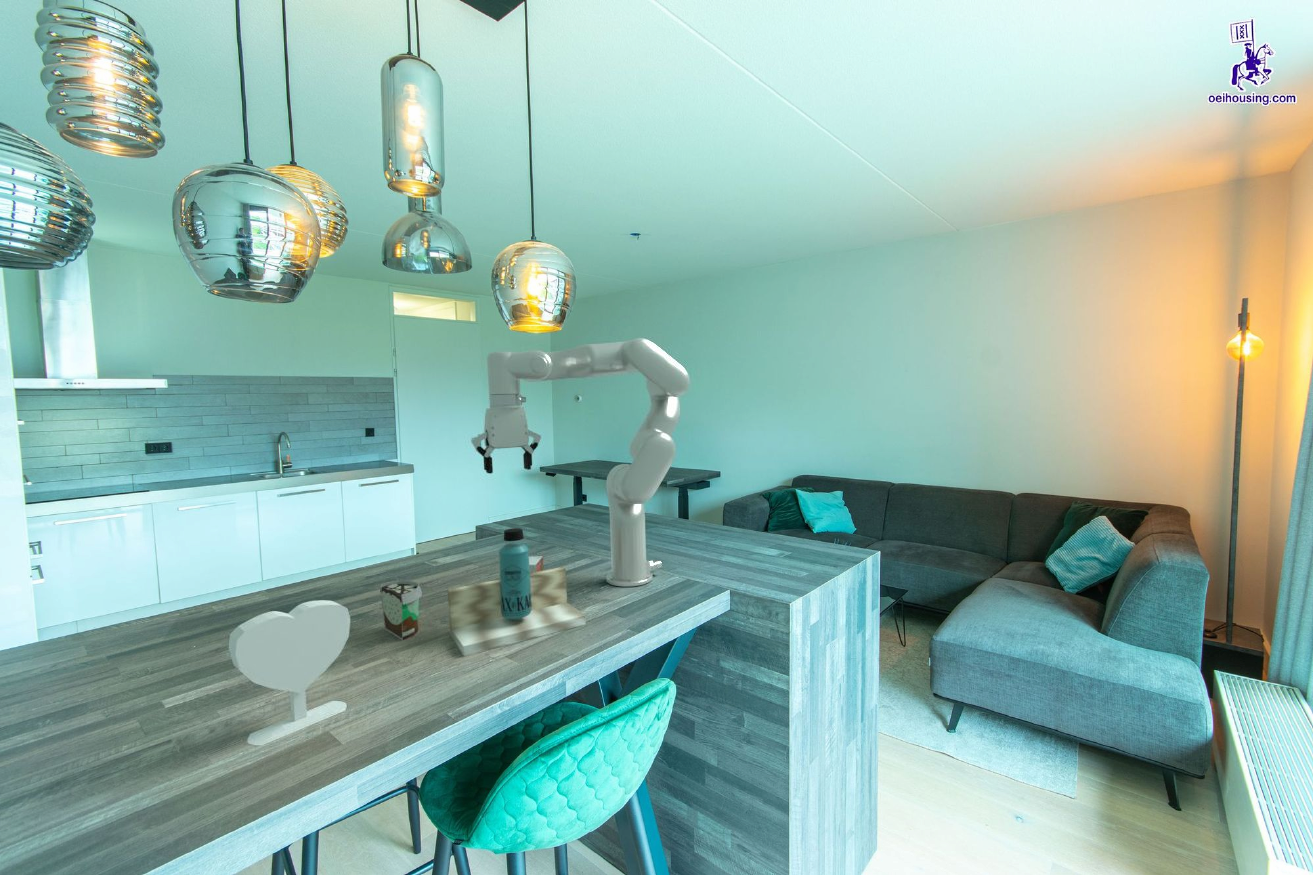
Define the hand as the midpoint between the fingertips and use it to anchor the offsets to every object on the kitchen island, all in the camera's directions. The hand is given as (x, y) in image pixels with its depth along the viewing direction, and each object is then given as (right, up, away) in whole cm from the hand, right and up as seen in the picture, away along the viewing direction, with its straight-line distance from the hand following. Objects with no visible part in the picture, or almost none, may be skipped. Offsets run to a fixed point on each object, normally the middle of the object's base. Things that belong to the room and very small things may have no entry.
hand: (508, 471), depth 139 cm
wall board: (+8, -33, -19) cm, 39 cm away
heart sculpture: (-19, -36, -51) cm, 66 cm away
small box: (+6, -33, -1) cm, 33 cm away
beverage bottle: (+7, -31, -18) cm, 37 cm away
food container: (-18, -34, -16) cm, 42 cm away
